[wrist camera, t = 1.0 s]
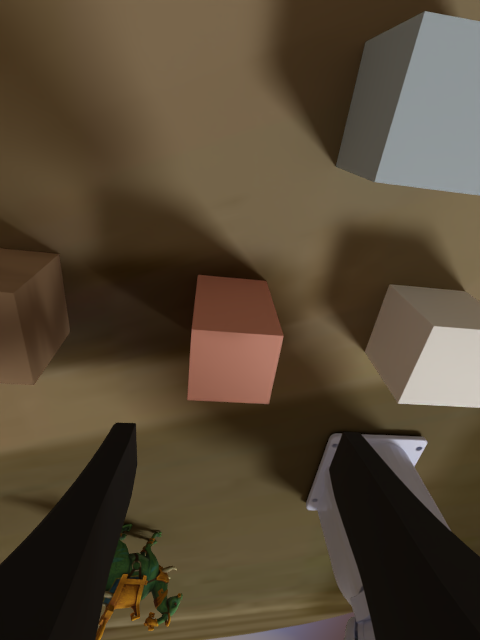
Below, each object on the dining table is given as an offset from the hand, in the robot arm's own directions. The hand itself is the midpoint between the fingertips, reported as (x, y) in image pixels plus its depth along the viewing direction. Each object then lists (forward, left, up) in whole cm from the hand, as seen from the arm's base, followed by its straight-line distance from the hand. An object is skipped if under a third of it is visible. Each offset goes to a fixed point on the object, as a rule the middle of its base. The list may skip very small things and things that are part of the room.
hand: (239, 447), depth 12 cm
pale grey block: (0, -12, -10) cm, 16 cm away
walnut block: (0, +12, -10) cm, 16 cm away
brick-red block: (0, 0, -10) cm, 10 cm away
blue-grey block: (+11, -7, -10) cm, 17 cm away
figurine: (-24, +7, -11) cm, 27 cm away
